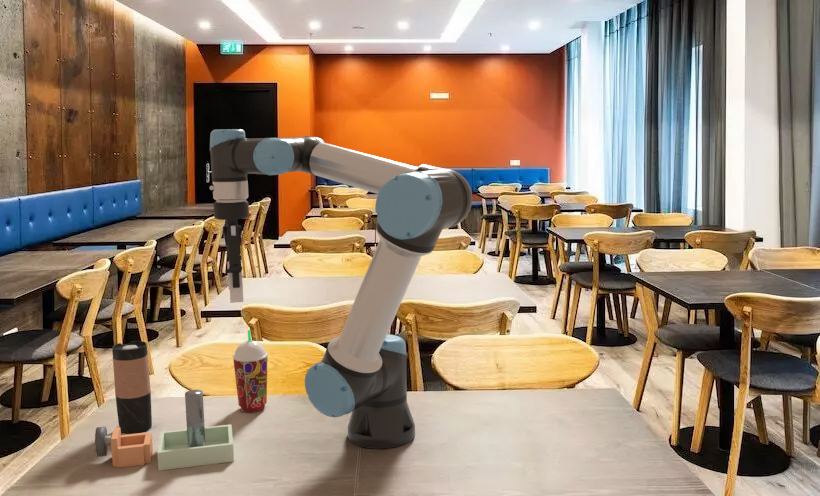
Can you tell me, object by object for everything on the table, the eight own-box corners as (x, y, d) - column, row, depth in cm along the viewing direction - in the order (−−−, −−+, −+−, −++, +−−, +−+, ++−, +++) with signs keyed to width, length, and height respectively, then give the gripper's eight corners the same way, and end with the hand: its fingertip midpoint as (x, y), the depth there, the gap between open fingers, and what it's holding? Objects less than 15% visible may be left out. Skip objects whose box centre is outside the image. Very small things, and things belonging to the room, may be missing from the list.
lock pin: (205, 447, 164) (202, 389, 162) (205, 453, 161) (202, 394, 159) (188, 448, 163) (185, 390, 161) (188, 455, 160) (184, 396, 158)
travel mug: (141, 436, 172) (135, 350, 169) (111, 433, 174) (104, 349, 170) (159, 423, 180) (153, 341, 176) (129, 421, 181) (123, 339, 178)
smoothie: (266, 414, 184) (262, 334, 181) (232, 415, 184) (227, 335, 181) (272, 402, 192) (269, 325, 189) (240, 402, 192) (236, 325, 189)
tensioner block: (153, 449, 165) (150, 416, 164) (150, 463, 158) (148, 429, 157) (101, 455, 162) (98, 421, 161) (96, 470, 155) (93, 435, 154)
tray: (232, 440, 169) (231, 424, 168) (234, 461, 159) (233, 444, 158) (161, 448, 165) (160, 432, 165) (158, 470, 155) (157, 452, 154)
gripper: (212, 196, 177) (217, 285, 181) (213, 206, 154) (219, 309, 157) (245, 194, 179) (249, 283, 183) (251, 205, 155) (256, 306, 159)
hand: (235, 295), depth 170 cm, fingers open, 13 cm apart
